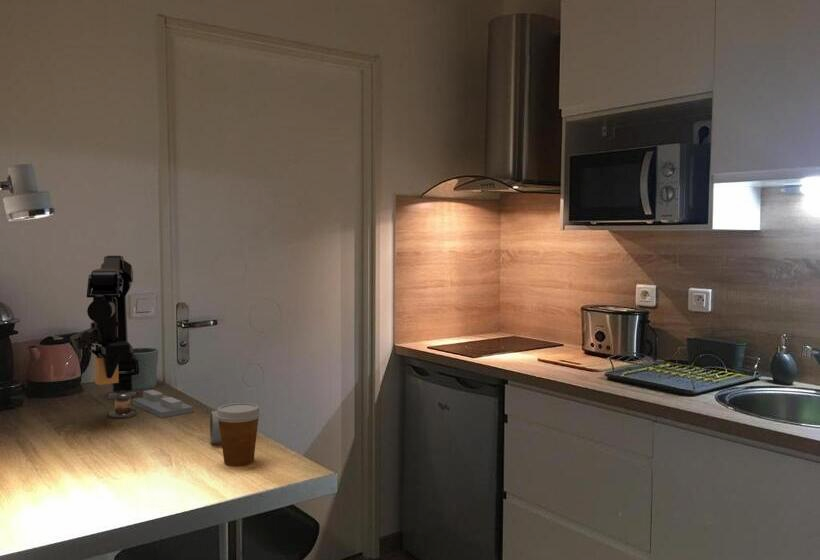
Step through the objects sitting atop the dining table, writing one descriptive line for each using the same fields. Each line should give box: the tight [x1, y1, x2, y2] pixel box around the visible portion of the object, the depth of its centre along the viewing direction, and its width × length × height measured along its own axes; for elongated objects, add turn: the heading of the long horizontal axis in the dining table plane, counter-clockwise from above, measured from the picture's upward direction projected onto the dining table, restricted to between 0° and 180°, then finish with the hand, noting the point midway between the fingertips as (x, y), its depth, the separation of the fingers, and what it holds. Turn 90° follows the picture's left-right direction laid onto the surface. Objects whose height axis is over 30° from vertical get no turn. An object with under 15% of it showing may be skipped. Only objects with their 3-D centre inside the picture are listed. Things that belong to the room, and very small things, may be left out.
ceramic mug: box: [209, 410, 222, 445], centre depth 169 cm, size 11×8×8 cm
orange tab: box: [94, 356, 119, 386], centre depth 185 cm, size 3×5×7 cm, turn 132°
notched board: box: [131, 389, 194, 419], centre depth 199 cm, size 20×9×4 cm, turn 43°
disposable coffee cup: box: [216, 402, 262, 467], centre depth 153 cm, size 10×10×12 cm
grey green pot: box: [132, 347, 159, 390], centre depth 226 cm, size 10×10×12 cm
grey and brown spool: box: [108, 390, 138, 419], centre depth 192 cm, size 7×7×6 cm
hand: (107, 377), depth 185 cm, fingers closed on orange tab, 3 cm apart
